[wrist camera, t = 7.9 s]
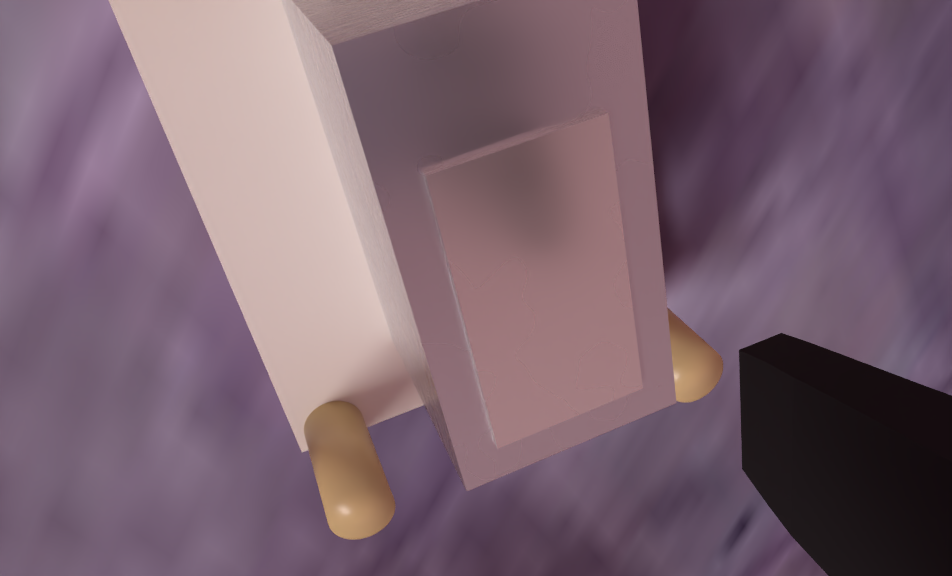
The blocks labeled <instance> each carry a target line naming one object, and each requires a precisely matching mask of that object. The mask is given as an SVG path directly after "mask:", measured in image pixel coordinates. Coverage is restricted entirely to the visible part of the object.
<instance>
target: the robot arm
mask: <svg viewBox="0 0 952 576" xmlns="http://www.w3.org/2000/svg"><path fill="white" fill-rule="evenodd" d="M739 362H740V400H741V438H742V469H743V471H744V472H745V473H746V475H747V476H748V478H749V479H750V480H751V482H752V483H753V485H754V486H755V487H756V489H757V490H758V492H759V493H760V494H761V496H762V497H763V499H764V500H765V501H766V503H767V504H768V506H769V507H770V508H771V509H772V511H773V512H774V513H775V515H776V516H777V517H778V519H779V520H780V521H781V523H782V524H783V525H784V527H785V528H786V529H787V530H788V532H789V533H790V534H791V536H792V537H793V538H794V539H795V540H796V541H797V542H798V543H799V544H800V546H801V547H802V548H803V549H804V550H805V551H806V552H807V553H808V554H809V555H810V556H811V557H812V558H813V560H814V561H815V562H816V563H817V564H818V565H819V566H820V567H821V568H822V569H823V570H824V571H825V572H826V573H827V574H828V576H952V396H951V395H948V394H946V393H943V392H940V391H937V390H935V389H932V388H929V387H926V386H924V385H921V384H918V383H916V382H913V381H910V380H908V379H905V378H902V377H900V376H897V375H894V374H892V373H889V372H886V371H884V370H881V369H878V368H876V367H873V366H871V365H868V364H865V363H863V362H860V361H857V360H855V359H852V358H849V357H847V356H844V355H841V354H839V353H836V352H833V351H831V350H828V349H825V348H823V347H820V346H817V345H815V344H812V343H809V342H806V341H803V340H801V339H798V338H795V337H792V336H789V335H786V334H783V333H780V334H778V335H775V336H773V337H770V338H768V339H765V340H763V341H760V342H758V343H756V344H753V345H751V346H748V347H746V348H743V349H741V350H739Z"/></svg>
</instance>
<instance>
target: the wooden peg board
mask: <svg viewBox="0 0 952 576" xmlns="http://www.w3.org/2000/svg"><path fill="white" fill-rule="evenodd" d="M109 2H110V5H111V7H112V9H113V12H114V14H115V16H116V19H117V21H118V23H119V26H120V28H121V30H122V33H123V35H124V37H125V40H126V42H127V44H128V47H129V49H130V51H131V54H132V56H133V58H134V61H135V63H136V65H137V68H138V70H139V72H140V75H141V77H142V79H143V82H144V84H145V87H146V89H147V91H148V94H149V96H150V98H151V101H152V103H153V105H154V108H155V110H156V112H157V115H158V117H159V119H160V122H161V124H162V126H163V129H164V131H165V133H166V136H167V138H168V140H169V143H170V145H171V147H172V150H173V152H174V154H175V157H176V159H177V161H178V164H179V166H180V168H181V171H182V173H183V175H184V178H185V180H186V182H187V185H188V187H189V189H190V192H191V194H192V196H193V199H194V201H195V203H196V206H197V208H198V210H199V213H200V215H201V217H202V220H203V222H204V224H205V227H206V229H207V231H208V234H209V236H210V238H211V241H212V243H213V245H214V248H215V250H216V252H217V255H218V257H219V259H220V262H221V264H222V266H223V269H224V271H225V273H226V276H227V278H228V280H229V283H230V285H231V287H232V290H233V292H234V294H235V297H236V299H237V301H238V304H239V306H240V308H241V311H242V313H243V315H244V318H245V320H246V323H247V325H248V327H249V330H250V332H251V334H252V337H253V339H254V341H255V344H256V346H257V348H258V351H259V353H260V355H261V358H262V360H263V362H264V365H265V367H266V369H267V372H268V374H269V376H270V379H271V381H272V383H273V386H274V388H275V390H276V393H277V395H278V397H279V400H280V402H281V404H282V407H283V409H284V411H285V414H286V416H287V418H288V421H289V423H290V425H291V428H292V430H293V432H294V435H295V437H296V439H297V442H298V444H299V446H300V449H301V451H302V452H305V451H307V450H309V454H310V458H311V461H312V465H313V469H314V473H315V476H316V480H317V484H318V487H319V491H320V495H321V499H322V502H323V506H324V510H325V514H326V517H327V521H328V525H329V527H330V529H331V530H332V532H333V533H335V534H336V535H337V536H339V537H342V538H345V539H362V538H366V537H369V536H372V535H374V534H376V533H377V532H379V531H380V530H382V529H383V528H384V527H385V526H386V525H387V524H388V523H389V522H390V520H391V519H392V517H393V515H394V512H395V501H394V498H393V495H392V493H391V490H390V487H389V485H388V482H387V479H386V477H385V474H384V471H383V469H382V466H381V463H380V461H379V458H378V455H377V453H376V450H375V447H374V445H373V442H372V439H371V437H370V434H369V431H368V429H367V427H369V426H371V425H374V424H376V423H379V422H382V421H384V420H387V419H389V418H392V417H394V416H397V415H400V414H402V413H405V412H407V411H410V410H412V409H415V408H417V407H420V406H423V405H424V404H423V402H422V400H421V398H420V396H419V393H418V391H417V389H416V387H415V385H414V383H413V381H412V379H411V377H410V375H409V373H408V371H407V369H406V367H405V365H404V363H403V361H402V359H401V357H400V355H399V353H398V351H397V349H396V347H395V345H394V343H393V340H392V337H391V334H390V331H389V328H388V325H387V322H386V319H385V316H384V313H383V310H382V307H381V304H380V301H379V297H378V294H377V291H376V288H375V285H374V282H373V279H372V276H371V273H370V270H369V267H368V264H367V261H366V258H365V255H364V251H363V248H362V245H361V242H360V239H359V236H358V233H357V230H356V227H355V224H354V221H353V218H352V215H351V212H350V209H349V205H348V202H347V199H346V196H345V193H344V190H343V187H342V184H341V181H340V178H339V175H338V172H337V169H336V166H335V163H334V159H333V156H332V153H331V150H330V147H329V144H328V141H327V138H326V135H325V132H324V129H323V126H322V123H321V120H320V117H319V113H318V110H317V107H316V104H315V101H314V98H313V95H312V92H311V89H310V86H309V83H308V80H307V77H306V74H305V71H304V67H303V64H302V61H301V58H300V55H299V52H298V49H297V46H296V43H295V40H294V37H293V34H292V31H291V28H290V25H289V21H288V18H287V15H286V12H285V9H284V6H283V3H282V0H109ZM667 310H668V321H669V331H670V341H671V351H672V362H673V372H674V382H675V392H676V400H677V401H679V402H692V401H696V400H698V399H700V398H702V397H704V396H705V395H707V394H708V393H709V392H710V391H711V390H712V389H713V388H714V387H715V386H716V384H717V383H718V381H719V379H720V377H721V375H722V371H723V361H722V358H721V356H720V355H719V354H718V353H717V352H716V351H715V350H714V349H713V348H712V347H710V346H709V345H708V344H707V343H706V342H705V341H704V340H703V339H702V338H701V337H699V336H698V335H697V334H696V333H695V332H694V331H693V330H692V329H691V328H689V327H688V326H687V325H686V324H685V323H684V322H683V321H682V320H681V319H680V318H678V317H677V316H676V315H675V314H674V313H673V312H672V311H671V310H670V309H668V308H667Z"/></svg>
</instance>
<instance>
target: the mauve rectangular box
mask: <svg viewBox="0 0 952 576" xmlns="http://www.w3.org/2000/svg"><path fill="white" fill-rule="evenodd" d="M282 3H283V6H284V9H285V12H286V15H287V18H288V21H289V25H290V28H291V31H292V34H293V37H294V40H295V43H296V46H297V49H298V52H299V55H300V58H301V61H302V64H303V67H304V71H305V74H306V77H307V80H308V83H309V86H310V89H311V92H312V95H313V98H314V101H315V104H316V107H317V110H318V113H319V117H320V120H321V123H322V126H323V129H324V132H325V135H326V138H327V141H328V144H329V147H330V150H331V153H332V156H333V159H334V163H335V166H336V169H337V172H338V175H339V178H340V181H341V184H342V187H343V190H344V193H345V196H346V199H347V202H348V205H349V209H350V212H351V215H352V218H353V221H354V224H355V227H356V230H357V233H358V236H359V239H360V242H361V245H362V248H363V251H364V255H365V258H366V261H367V264H368V267H369V270H370V273H371V276H372V279H373V282H374V285H375V288H376V291H377V294H378V297H379V301H380V304H381V307H382V310H383V313H384V316H385V319H386V322H387V325H388V328H389V331H390V334H391V337H392V340H393V343H394V345H395V347H396V349H397V351H398V353H399V355H400V357H401V359H402V361H403V363H404V365H405V367H406V369H407V371H408V373H409V375H410V377H411V379H412V381H413V383H414V385H415V387H416V389H417V391H418V393H419V396H420V398H421V400H422V402H423V404H424V406H425V408H426V410H427V412H428V414H429V416H430V418H431V420H432V422H433V424H434V426H435V428H436V430H437V432H438V434H439V436H440V438H441V440H442V442H443V444H444V446H445V448H446V450H447V452H448V455H449V457H450V459H451V461H452V463H453V465H454V467H455V469H456V471H457V473H458V475H459V477H460V479H461V481H462V483H463V485H464V487H465V489H466V491H469V490H471V489H474V488H476V487H478V486H481V485H483V484H485V483H488V482H490V481H492V480H495V479H497V478H500V477H502V476H504V475H507V474H509V473H511V472H514V471H516V470H519V469H521V468H523V467H526V466H528V465H530V464H533V463H535V462H537V461H540V460H542V459H545V458H547V457H549V456H552V455H554V454H556V453H559V452H561V451H564V450H566V449H568V448H571V447H573V446H575V445H578V444H580V443H582V442H585V441H587V440H590V439H592V438H594V437H597V436H599V435H601V434H604V433H606V432H609V431H611V430H613V429H616V428H618V427H620V426H623V425H625V424H627V423H630V422H632V421H635V420H637V419H639V418H642V417H644V416H646V415H649V414H651V413H653V412H656V411H658V410H661V409H663V408H665V407H668V406H670V405H672V404H675V403H676V392H675V382H674V372H673V362H672V351H671V341H670V331H669V321H668V310H667V300H666V290H665V280H664V269H663V259H662V249H661V239H660V228H659V218H658V208H657V198H656V187H655V177H654V167H653V157H652V146H651V136H650V126H649V116H648V105H647V95H646V85H645V75H644V64H643V54H642V44H641V34H640V23H639V13H638V3H637V0H282Z"/></svg>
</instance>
